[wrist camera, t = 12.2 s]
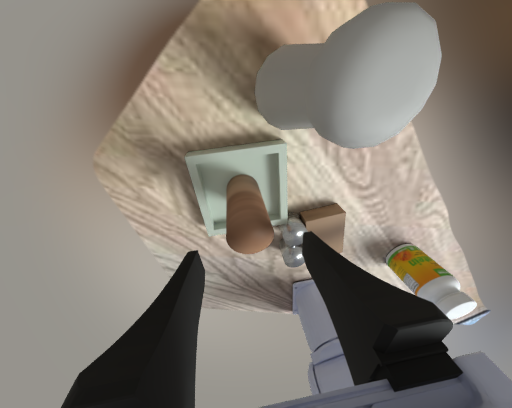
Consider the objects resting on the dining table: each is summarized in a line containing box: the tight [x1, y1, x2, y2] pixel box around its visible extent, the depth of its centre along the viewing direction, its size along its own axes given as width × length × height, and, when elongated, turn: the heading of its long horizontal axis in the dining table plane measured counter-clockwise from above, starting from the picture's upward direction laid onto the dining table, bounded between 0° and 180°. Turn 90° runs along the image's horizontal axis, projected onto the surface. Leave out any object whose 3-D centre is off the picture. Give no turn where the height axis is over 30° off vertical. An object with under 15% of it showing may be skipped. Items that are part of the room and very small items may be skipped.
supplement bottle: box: [386, 244, 477, 319], centre depth 27 cm, size 5×5×10 cm
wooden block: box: [300, 204, 346, 253], centre depth 25 cm, size 7×5×2 cm
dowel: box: [226, 174, 274, 254], centre depth 17 cm, size 4×4×8 cm
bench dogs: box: [279, 212, 308, 267], centre depth 24 cm, size 7×3×3 cm, turn 6°
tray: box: [184, 139, 288, 236], centre depth 20 cm, size 10×10×2 cm
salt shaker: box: [255, 2, 442, 149], centre depth 11 cm, size 6×6×13 cm
